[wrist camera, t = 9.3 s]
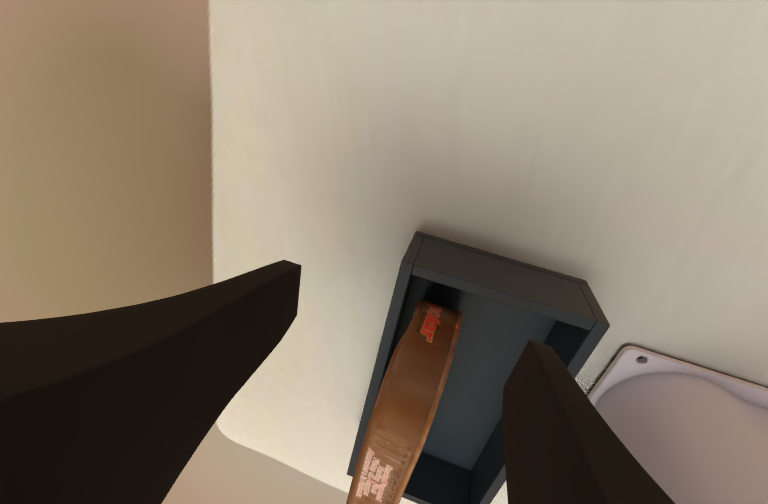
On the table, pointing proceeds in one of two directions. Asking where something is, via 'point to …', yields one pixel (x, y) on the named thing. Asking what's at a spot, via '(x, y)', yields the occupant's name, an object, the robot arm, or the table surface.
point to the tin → (405, 405)
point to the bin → (479, 356)
